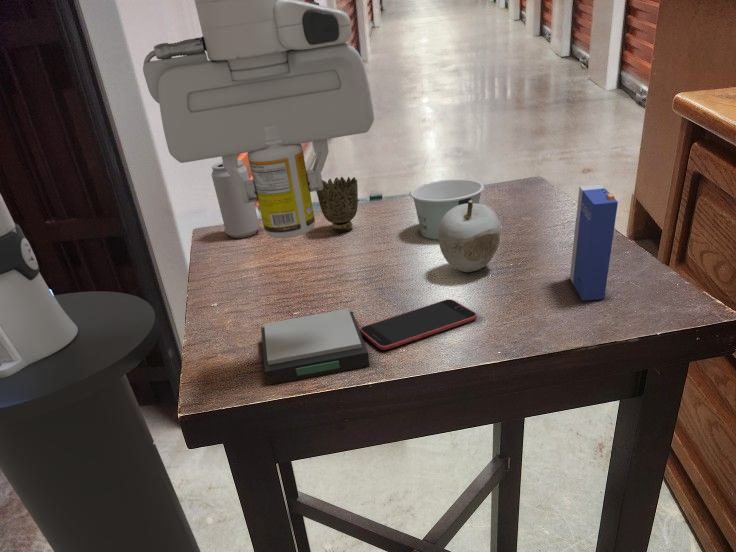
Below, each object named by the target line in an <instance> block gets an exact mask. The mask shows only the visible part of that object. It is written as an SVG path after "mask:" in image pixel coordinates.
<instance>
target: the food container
mask: <svg viewBox="0 0 736 552" xmlns="http://www.w3.org/2000/svg"><path fill="white" fill-rule="evenodd" d="M484 189H485V186H484V184H483V183H481V182H480V181H478V180H473V179H465V178H452V179H451V178H450V179H442V180H436V181H431V182H427V183H424V184H421V185H418V186H416V187H414V188H413V189H412V190H411V192H410V197H411V198H412V199H413V203H414V207H415V211H416V216H417V220H418V226H419V230H420V234H421V236H423V237H424V238H427V239H431V240H438V241H439V236H438V231H439V226H440V222H441V220H442V218H443V217H444V215H445V214H446V213H447V212H448V211H449V210H451V209H452V208H454V207H456V206H458V205H461V204H467V203H468V201H469V200H472V201H473V203H477V204H480V200H481V194H482V192H483V191H484Z"/></svg>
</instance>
